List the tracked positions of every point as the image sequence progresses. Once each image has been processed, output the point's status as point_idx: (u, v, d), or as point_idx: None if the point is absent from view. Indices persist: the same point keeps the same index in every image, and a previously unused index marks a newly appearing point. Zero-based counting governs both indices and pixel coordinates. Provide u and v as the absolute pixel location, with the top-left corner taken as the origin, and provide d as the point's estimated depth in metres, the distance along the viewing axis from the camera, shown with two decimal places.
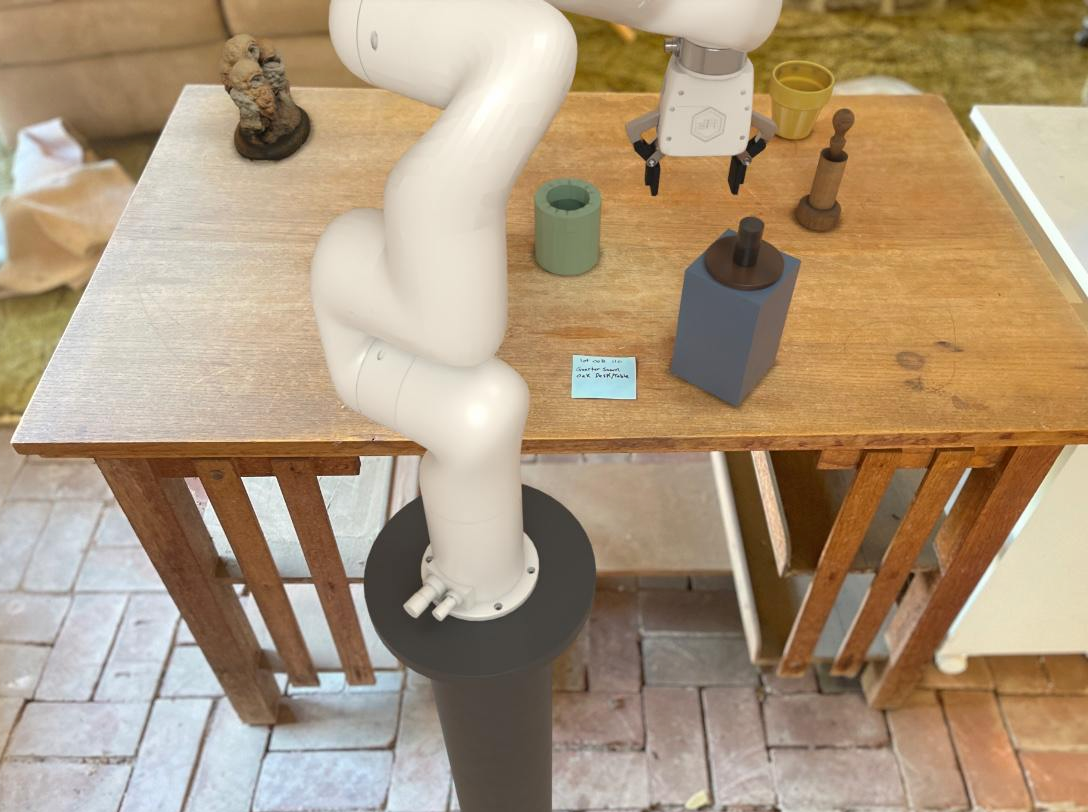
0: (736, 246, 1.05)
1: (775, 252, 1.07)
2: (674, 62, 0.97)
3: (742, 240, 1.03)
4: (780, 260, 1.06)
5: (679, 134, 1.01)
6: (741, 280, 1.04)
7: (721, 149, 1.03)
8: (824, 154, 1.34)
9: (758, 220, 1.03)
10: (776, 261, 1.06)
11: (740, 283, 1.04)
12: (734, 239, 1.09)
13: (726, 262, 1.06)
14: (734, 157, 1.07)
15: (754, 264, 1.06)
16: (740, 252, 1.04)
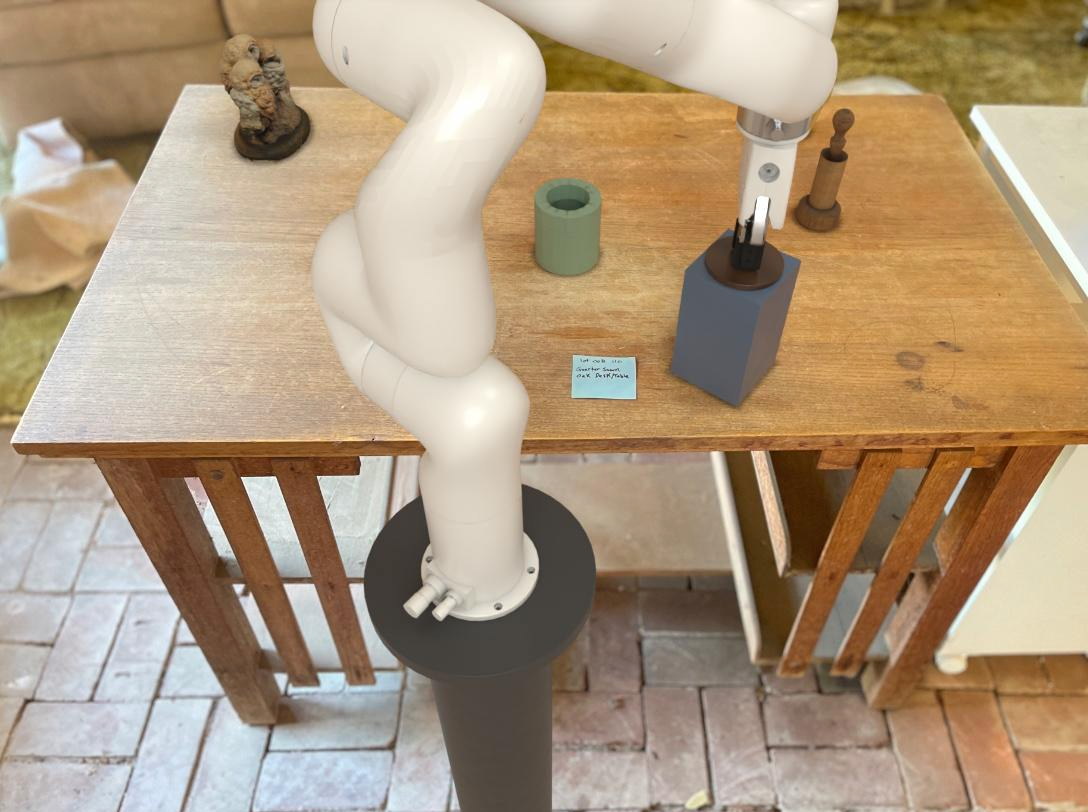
0: None
1: (775, 252, 1.07)
2: (772, 145, 0.91)
3: None
4: (780, 260, 1.06)
5: None
6: (741, 280, 1.04)
7: None
8: (824, 154, 1.34)
9: None
10: (776, 261, 1.06)
11: (740, 283, 1.04)
12: None
13: (726, 262, 1.06)
14: None
15: None
16: None
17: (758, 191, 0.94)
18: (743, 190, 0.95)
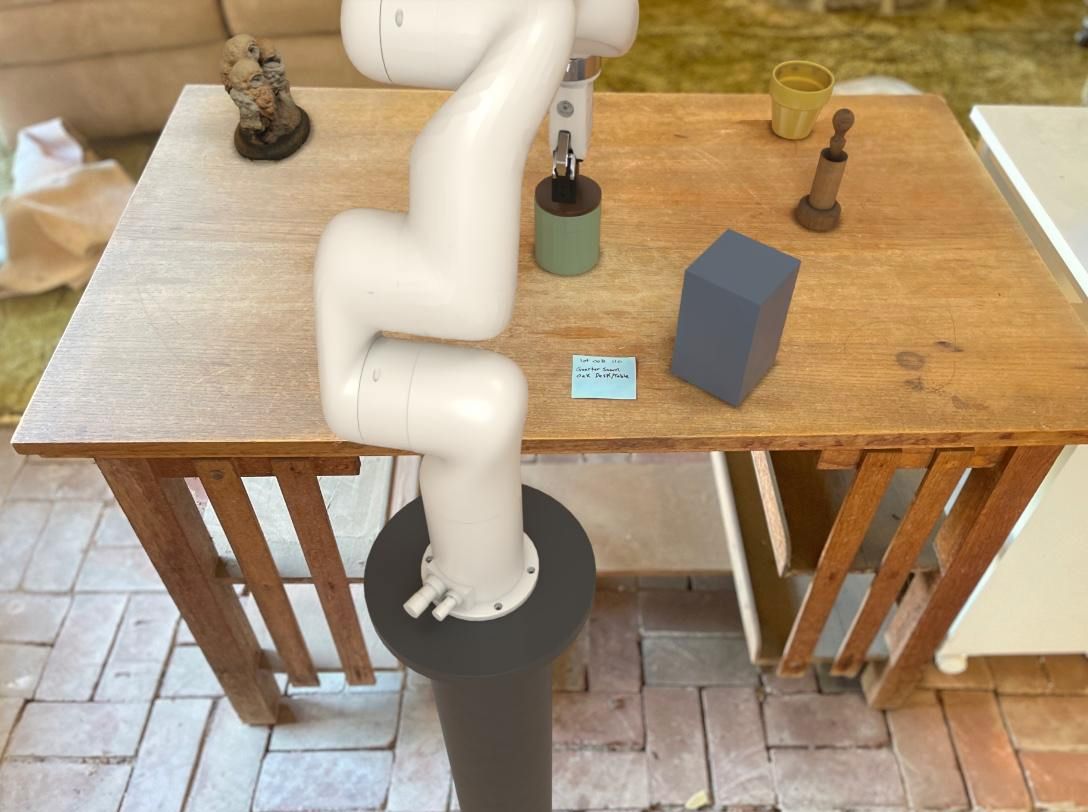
0: None
1: (595, 186, 1.27)
2: (565, 86, 1.10)
3: None
4: (598, 192, 1.26)
5: (588, 135, 1.15)
6: (562, 208, 1.23)
7: None
8: (824, 154, 1.34)
9: None
10: (594, 193, 1.26)
11: (560, 210, 1.23)
12: None
13: None
14: None
15: (576, 195, 1.25)
16: None
17: (559, 125, 1.13)
18: (548, 125, 1.14)
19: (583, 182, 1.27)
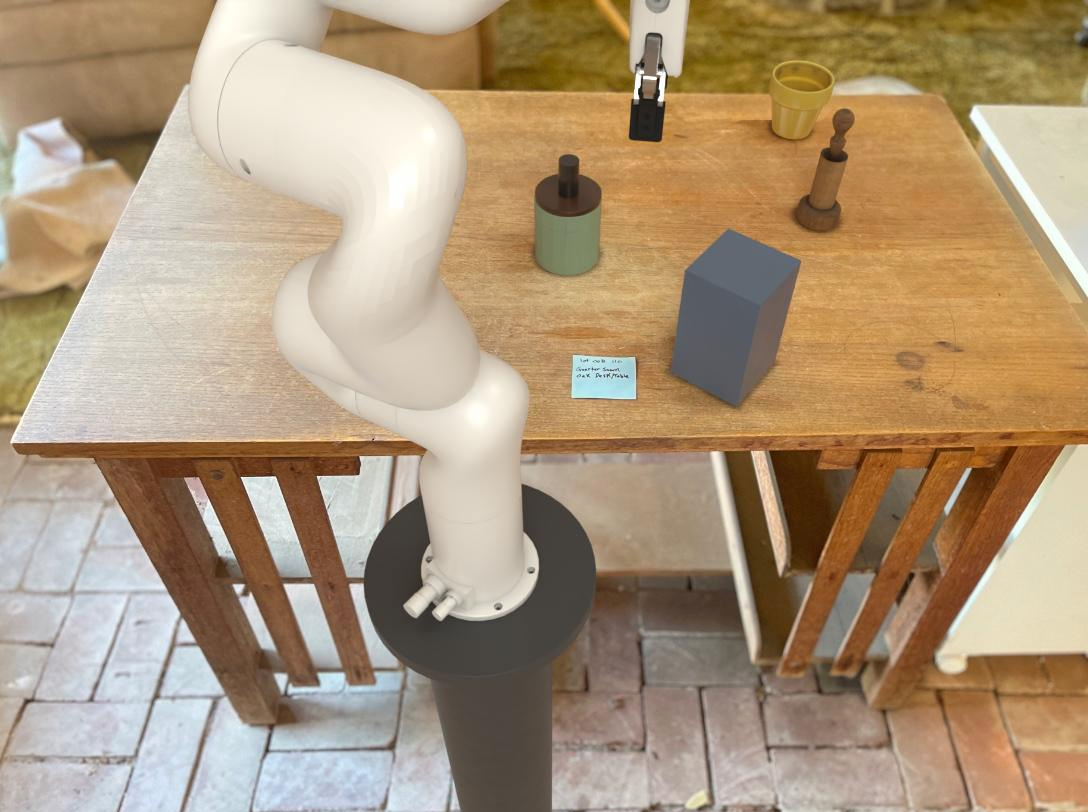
0: (558, 179, 1.24)
1: (595, 186, 1.27)
2: None
3: (561, 173, 1.22)
4: (598, 192, 1.26)
5: (684, 42, 0.83)
6: (562, 208, 1.23)
7: None
8: (824, 154, 1.34)
9: (574, 157, 1.22)
10: (594, 193, 1.26)
11: (560, 210, 1.23)
12: None
13: (552, 194, 1.25)
14: None
15: (576, 195, 1.25)
16: (561, 184, 1.24)
17: (647, 25, 0.80)
18: (631, 26, 0.81)
19: (583, 182, 1.27)
